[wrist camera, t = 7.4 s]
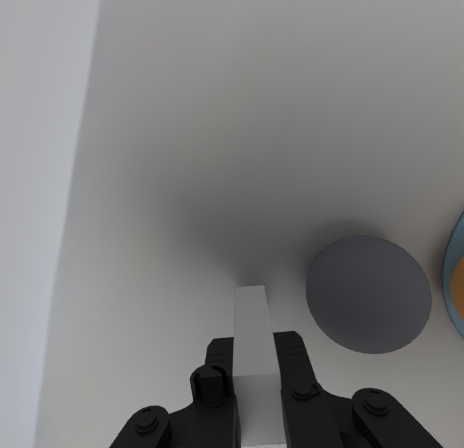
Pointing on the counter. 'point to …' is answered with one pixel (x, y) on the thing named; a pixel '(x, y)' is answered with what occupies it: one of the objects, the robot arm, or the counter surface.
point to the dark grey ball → (368, 295)
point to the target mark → (458, 247)
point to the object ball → (458, 288)
